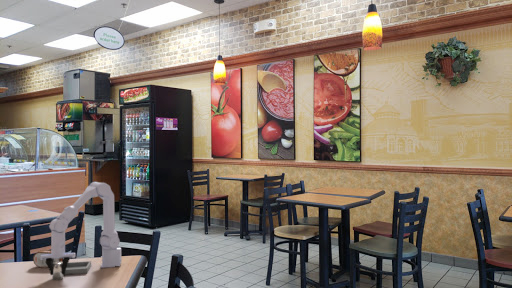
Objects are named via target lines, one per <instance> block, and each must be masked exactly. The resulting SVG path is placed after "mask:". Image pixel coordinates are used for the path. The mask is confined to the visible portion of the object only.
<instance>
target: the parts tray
mask: <svg viewBox="0 0 512 288" xmlns="http://www.w3.org/2000/svg"><path fill="white" fill-rule="evenodd" d="M91 267H92V260H89V261H88V260H87V261H73V262H68V264H67V267H66V271H65V274H63V276H72V275H84V274H88V273H89V270H90V269H91Z"/></svg>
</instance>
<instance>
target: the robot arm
mask: <svg viewBox="0 0 512 288" xmlns="http://www.w3.org/2000/svg"><path fill="white" fill-rule="evenodd" d="M96 197H99V198H100V199H101V200H102V204H103V205H102V208H103V209H102V210H103V211H102V214H103V215H102V216H103V219H102V221H103V230H102V231H101V233H100V235H101V236H100V237H99V245H101V265H100V269H103V268H116V267H115V266H119V267H121V265H120V264H122V247H118V246H119V245H120V242H121V241H120V238H119V235H118V234H119V233H118V232H117V230H116V227H115V226H116V225H115V224H116V223H115V221H116V220H115V214H116V213H115V194H114V191H112V189H111V185H109V184H107V183H106V182H98V181H93V182H91V183H90V184H89V185H88V186H87V187H86V188H85V190H84V192H83V193H82V194H80V196H79V197H78V199H76V200H75V202H74V203H73V204H72V205H68V206H67V207H66V206H65V207H64V209H63V211H62V212H61V213H60V214H59V215H57V216H56V218H55V219H52V220H51V221H50V224H49V225H48V227H49V230H50V231H51V235H50V237H51V238H50V239H51V245H50V246H51V248H50V249H51V250H50V251H51V254H44V255H41V256H40V260H43V259H46V261H45V262H46V264H47V266H48V268H47V269H48V270H49V273H50V275H51V276H53V262H54V259H58V258H63V260H62V262H63V274H65V271H66V267H67V264H68V263H69V261H70V260H71V259H75V258H76V252H66V230H67V229H68V226H69V224H70V223H71V222H72V221H73V220H74V219H75V218H76V217H77V215H78V214H79V210H80V209H81V207H83V206H84V205H85V204H86V203H87V202H88V201H90V200H91V198H92V199H93V198H96Z"/></svg>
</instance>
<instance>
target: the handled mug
mask: <svg viewBox="0 0 512 288" xmlns="http://www.w3.org/2000/svg"><path fill="white" fill-rule="evenodd" d="M62 279H64V275H63V262H55V263H53V275H52V280H53V281H59V280H62Z"/></svg>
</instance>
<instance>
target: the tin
mask: <svg viewBox="0 0 512 288" xmlns="http://www.w3.org/2000/svg"><path fill="white" fill-rule="evenodd" d="M44 254H51V250H49V249H48V250H47V249H46V250H45V249H40V250H39V251H37V252H35V254H33V257H32V258H33V259H32V260H33V264H34V266H36V267H38V268H47V269H49V268H48V266H47V264H46V262H45V261H46V259H43V260H40V256H41V255H44ZM63 259H64V258H58V259H54V262H53V263H55V262H62V260H63Z"/></svg>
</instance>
